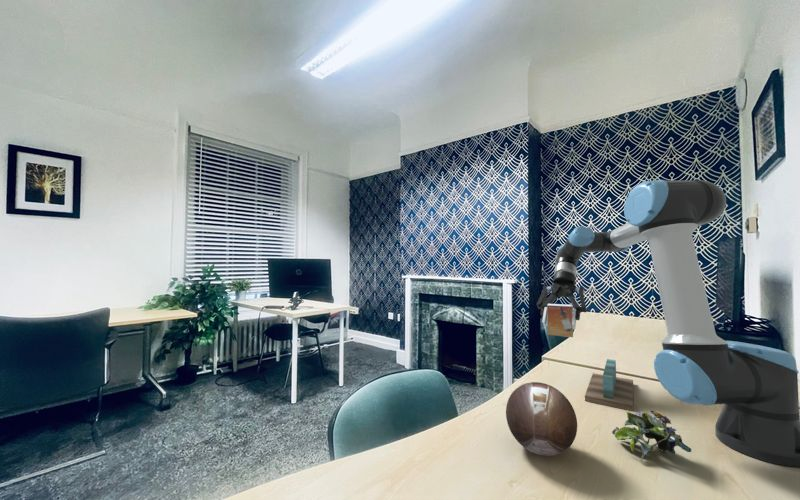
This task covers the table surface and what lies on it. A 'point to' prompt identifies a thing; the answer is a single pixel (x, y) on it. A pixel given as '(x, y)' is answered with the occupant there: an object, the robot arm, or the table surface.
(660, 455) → the table surface
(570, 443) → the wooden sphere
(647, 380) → the table surface
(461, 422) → the table surface
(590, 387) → the ridge stand
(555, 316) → the small box
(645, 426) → the green leafy plant
